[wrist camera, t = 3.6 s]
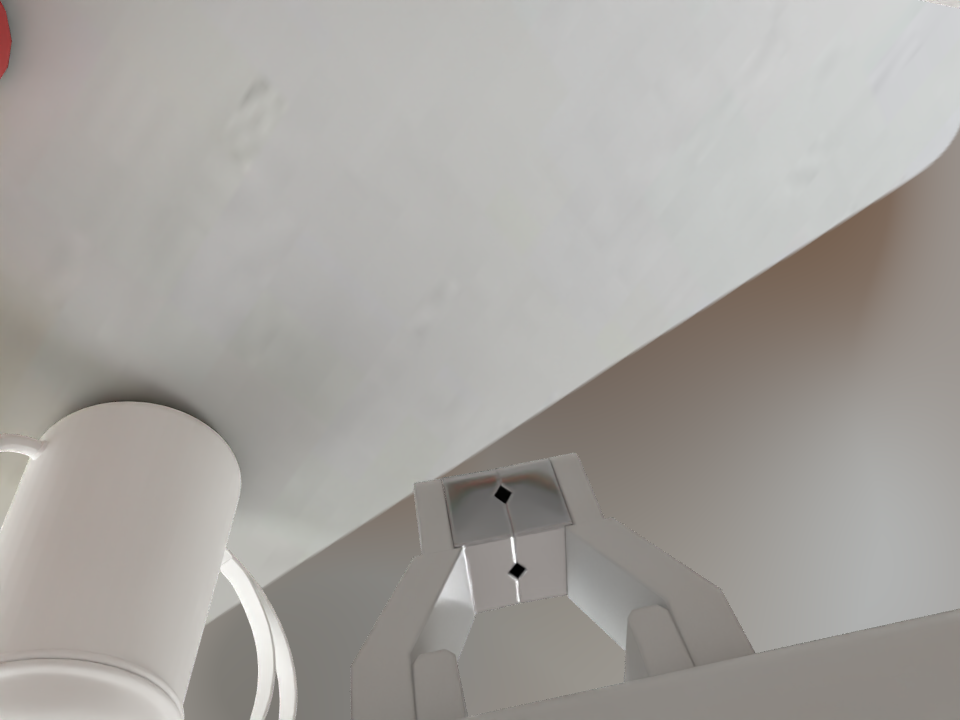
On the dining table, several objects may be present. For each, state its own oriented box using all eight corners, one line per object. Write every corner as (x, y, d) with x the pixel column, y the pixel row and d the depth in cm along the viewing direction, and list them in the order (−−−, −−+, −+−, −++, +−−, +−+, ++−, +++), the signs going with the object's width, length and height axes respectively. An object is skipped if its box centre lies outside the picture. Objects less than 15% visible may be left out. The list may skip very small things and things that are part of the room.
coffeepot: (-21, 257, 32) (-360, 610, 16) (358, 518, 45) (368, 846, 30) (-157, 391, 34) (-558, 805, 19) (240, 600, 47) (194, 941, 32)
